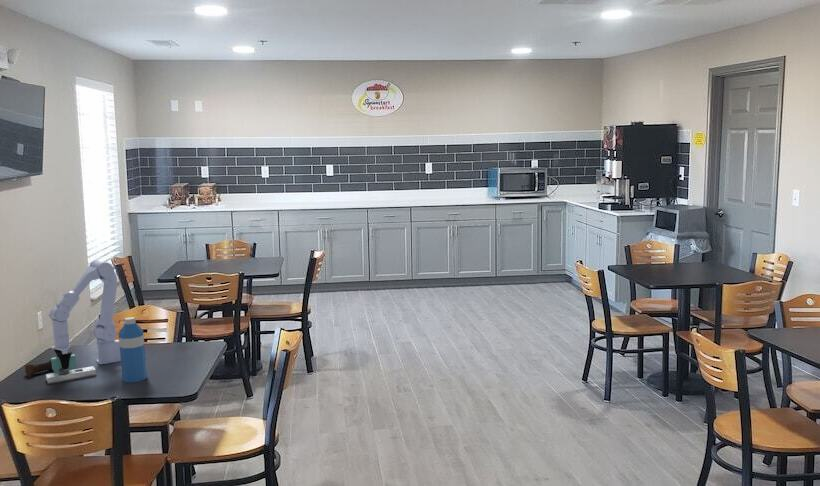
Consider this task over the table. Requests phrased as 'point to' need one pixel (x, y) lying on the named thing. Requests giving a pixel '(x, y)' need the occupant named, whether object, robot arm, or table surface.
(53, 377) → the rail
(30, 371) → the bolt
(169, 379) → the table surface
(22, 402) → the table surface
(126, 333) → the water bottle
